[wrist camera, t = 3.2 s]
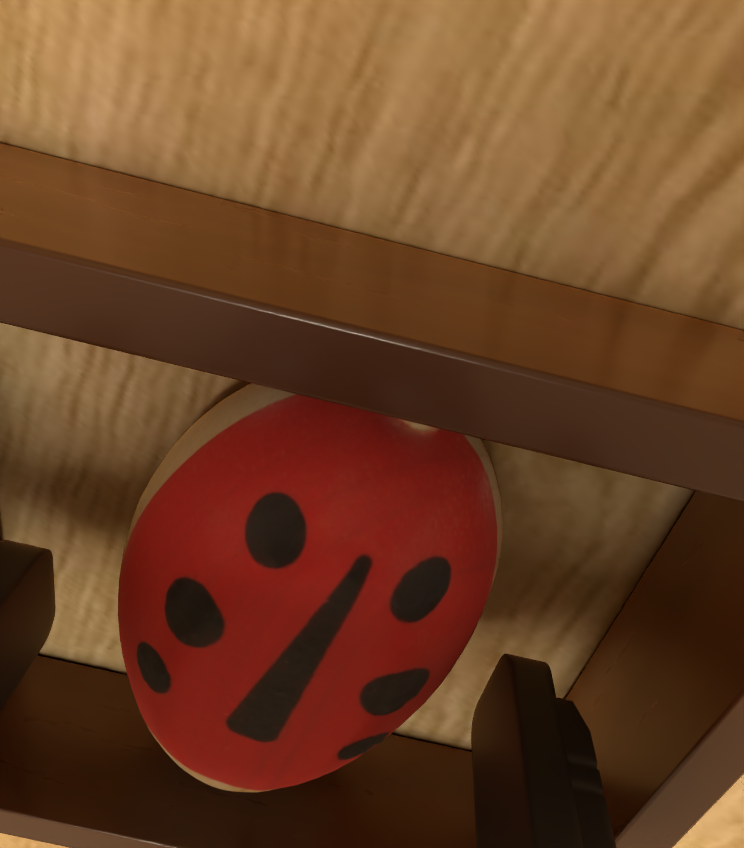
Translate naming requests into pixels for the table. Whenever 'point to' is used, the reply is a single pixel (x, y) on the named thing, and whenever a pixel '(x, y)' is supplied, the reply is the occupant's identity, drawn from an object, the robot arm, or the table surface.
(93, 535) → the table surface
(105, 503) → the table surface
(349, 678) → the ladybug figurine
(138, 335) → the wooden frame
